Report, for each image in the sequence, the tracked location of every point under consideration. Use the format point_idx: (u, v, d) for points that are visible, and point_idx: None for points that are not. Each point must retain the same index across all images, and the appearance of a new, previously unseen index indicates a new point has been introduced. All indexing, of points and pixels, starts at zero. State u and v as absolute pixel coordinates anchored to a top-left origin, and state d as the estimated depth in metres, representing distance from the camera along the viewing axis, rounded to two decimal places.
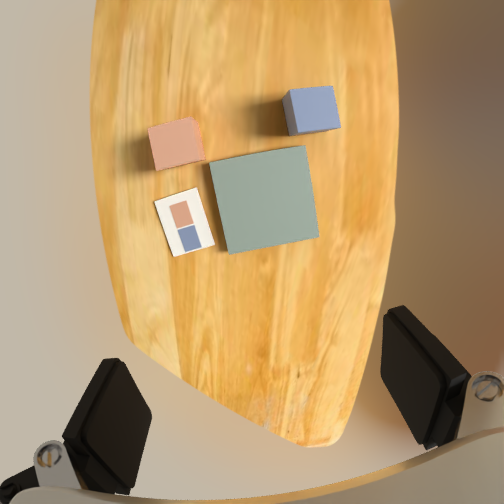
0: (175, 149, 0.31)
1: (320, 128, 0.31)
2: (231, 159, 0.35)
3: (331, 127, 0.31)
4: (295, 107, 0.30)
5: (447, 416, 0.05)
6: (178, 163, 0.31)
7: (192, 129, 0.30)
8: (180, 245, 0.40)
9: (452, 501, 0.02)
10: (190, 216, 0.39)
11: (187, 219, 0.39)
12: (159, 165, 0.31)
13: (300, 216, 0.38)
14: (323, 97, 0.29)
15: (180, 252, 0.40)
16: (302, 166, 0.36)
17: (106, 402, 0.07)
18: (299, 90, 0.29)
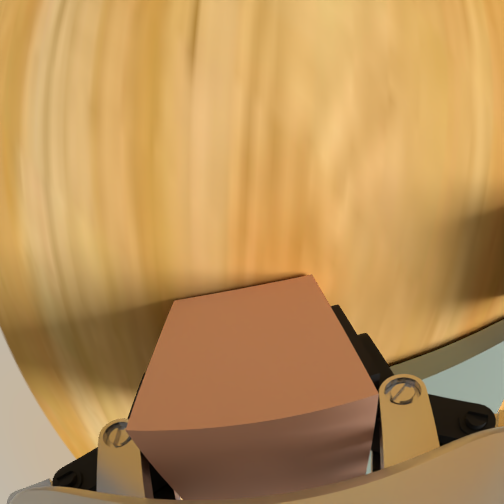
0: (275, 490, 0.06)
1: None
2: None
3: None
4: None
5: None
6: None
7: (368, 437, 0.05)
8: None
9: (452, 501, 0.02)
10: None
11: None
12: None
13: None
14: None
15: None
16: None
17: None
18: None
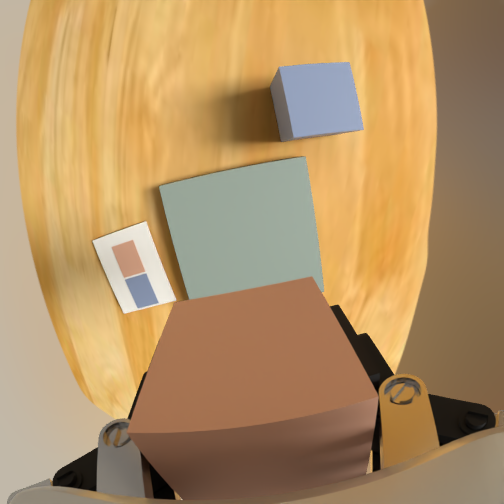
0: (275, 491, 0.06)
1: (330, 130, 0.18)
2: (191, 180, 0.23)
3: (348, 129, 0.18)
4: (288, 95, 0.17)
5: None
6: None
7: (368, 439, 0.05)
8: (130, 299, 0.28)
9: (452, 501, 0.02)
10: (139, 262, 0.27)
11: (137, 266, 0.27)
12: None
13: (297, 264, 0.26)
14: (334, 81, 0.17)
15: (131, 307, 0.28)
16: (301, 189, 0.24)
17: None
18: (295, 68, 0.17)
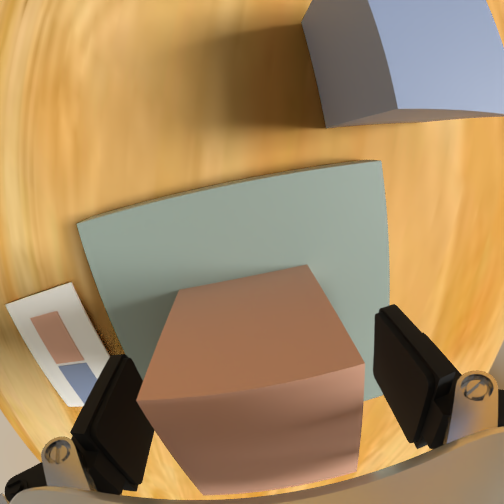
0: (273, 463, 0.07)
1: (472, 105, 0.06)
2: (137, 211, 0.10)
3: (499, 109, 0.05)
4: (375, 0, 0.05)
5: (436, 415, 0.06)
6: (283, 485, 0.07)
7: (358, 408, 0.06)
8: (72, 391, 0.15)
9: (452, 501, 0.02)
10: (73, 345, 0.14)
11: (70, 351, 0.14)
12: (214, 488, 0.07)
13: None
14: (462, 1, 0.04)
15: (77, 401, 0.15)
16: (370, 229, 0.11)
17: (114, 398, 0.08)
18: None
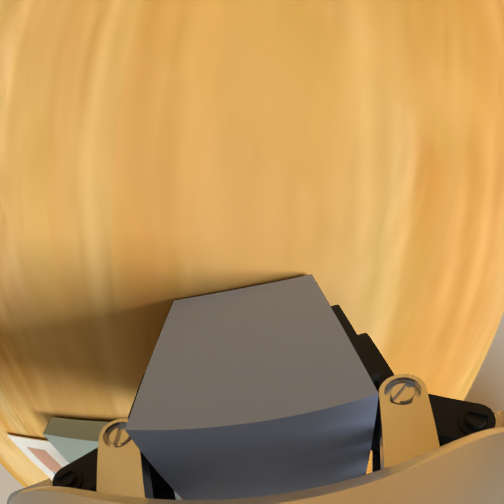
0: None
1: None
2: (78, 441, 0.11)
3: None
4: (171, 478, 0.06)
5: None
6: None
7: None
8: None
9: (452, 501, 0.02)
10: (61, 467, 0.15)
11: (59, 469, 0.15)
12: None
13: None
14: (309, 450, 0.05)
15: None
16: None
17: None
18: (176, 436, 0.05)
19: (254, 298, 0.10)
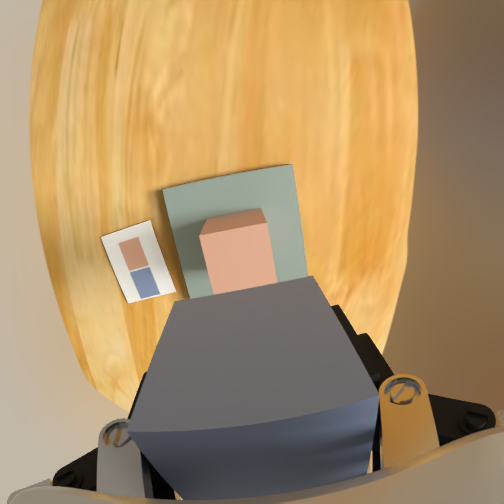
0: (242, 269, 0.23)
1: None
2: (191, 185, 0.26)
3: None
4: (172, 479, 0.06)
5: None
6: None
7: (269, 242, 0.22)
8: (134, 290, 0.31)
9: (452, 501, 0.02)
10: (144, 256, 0.30)
11: (141, 260, 0.30)
12: (219, 289, 0.23)
13: (284, 260, 0.29)
14: (310, 452, 0.05)
15: (135, 298, 0.31)
16: (288, 193, 0.27)
17: None
18: (178, 438, 0.05)
19: (255, 299, 0.10)
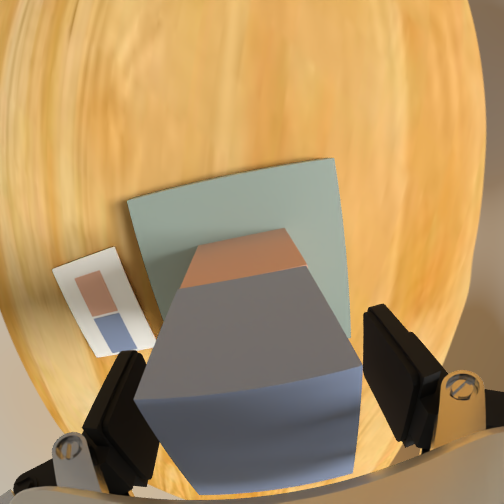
0: None
1: (277, 486, 0.07)
2: (171, 192, 0.16)
3: (318, 480, 0.07)
4: (174, 450, 0.06)
5: (422, 414, 0.06)
6: None
7: None
8: (102, 342, 0.21)
9: (452, 501, 0.02)
10: (110, 298, 0.19)
11: (106, 304, 0.20)
12: None
13: None
14: (301, 421, 0.06)
15: (105, 351, 0.21)
16: (327, 204, 0.17)
17: (125, 393, 0.08)
18: (181, 404, 0.06)
19: (252, 286, 0.10)
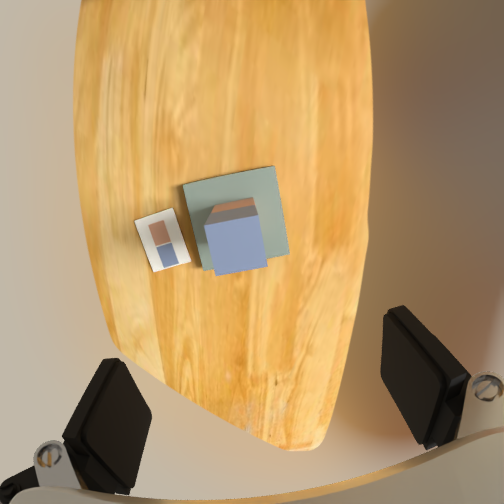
0: None
1: (242, 269, 0.29)
2: (203, 181, 0.38)
3: (255, 267, 0.29)
4: (211, 246, 0.28)
5: (447, 416, 0.05)
6: None
7: None
8: (159, 261, 0.42)
9: (452, 501, 0.02)
10: (167, 235, 0.41)
11: (165, 237, 0.41)
12: None
13: (270, 234, 0.40)
14: (245, 232, 0.28)
15: (159, 267, 0.42)
16: (272, 186, 0.38)
17: (106, 402, 0.07)
18: (216, 225, 0.27)
19: (235, 209, 0.32)
